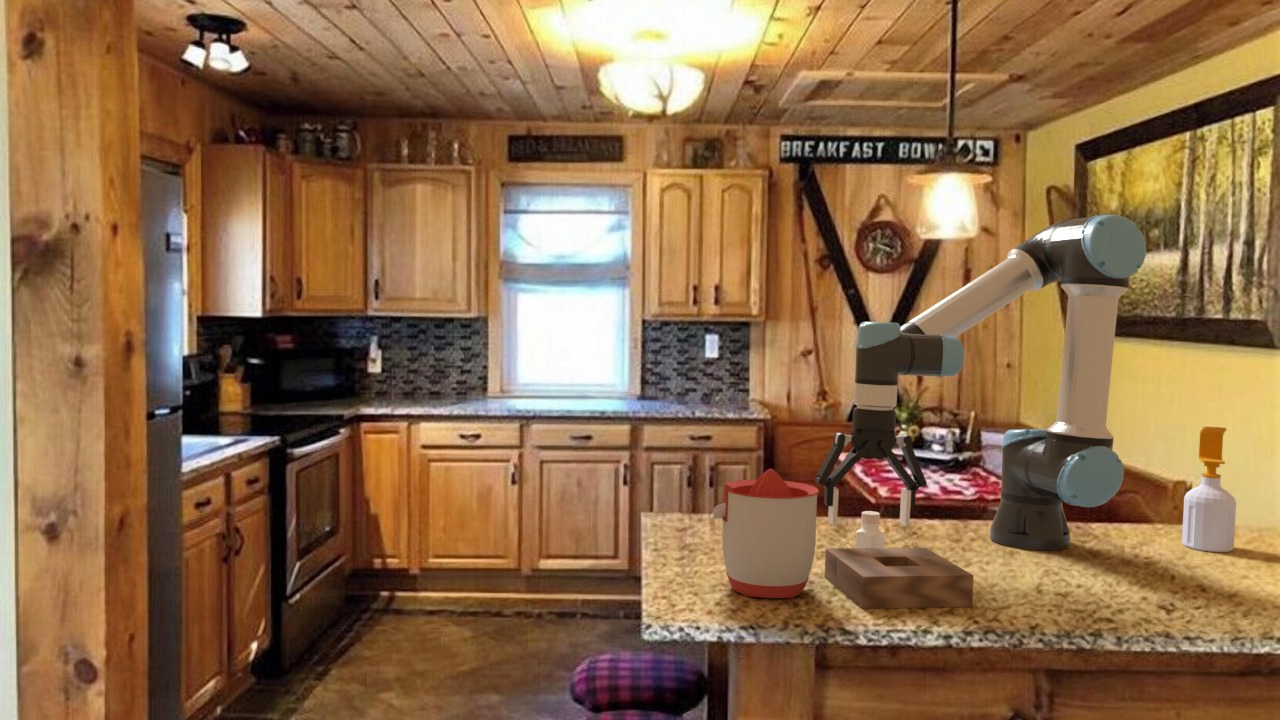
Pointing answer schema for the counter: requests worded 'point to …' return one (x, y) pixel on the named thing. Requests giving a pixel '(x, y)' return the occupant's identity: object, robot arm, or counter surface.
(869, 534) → the pepper shaker
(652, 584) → the counter surface
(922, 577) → the socket block
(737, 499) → the citrus juicer
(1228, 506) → the soap bottle
